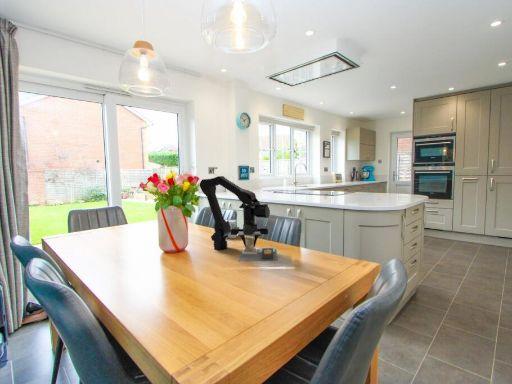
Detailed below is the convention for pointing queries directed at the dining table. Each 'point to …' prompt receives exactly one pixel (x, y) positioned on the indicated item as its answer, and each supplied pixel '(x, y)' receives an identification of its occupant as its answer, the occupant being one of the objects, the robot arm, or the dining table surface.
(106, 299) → the dining table surface
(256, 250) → the grey shape sorting board
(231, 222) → the light bulb box
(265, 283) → the dining table surface
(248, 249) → the block
